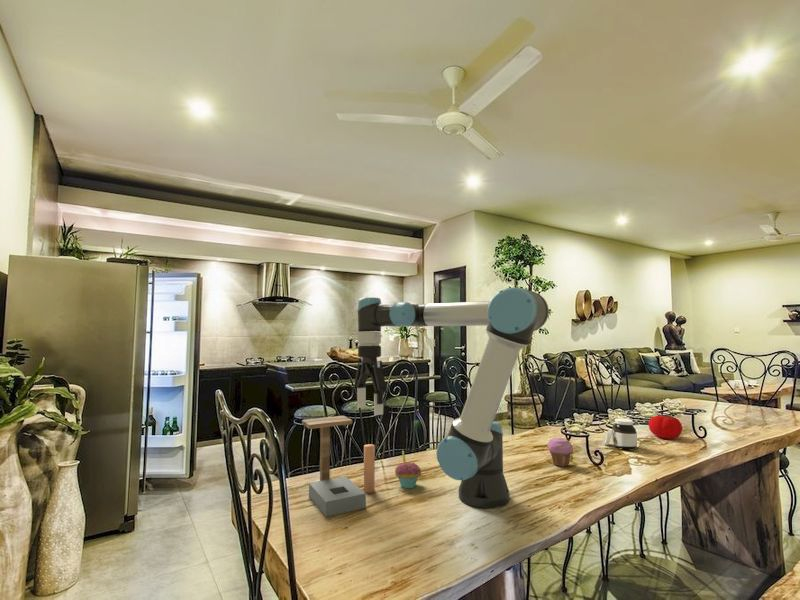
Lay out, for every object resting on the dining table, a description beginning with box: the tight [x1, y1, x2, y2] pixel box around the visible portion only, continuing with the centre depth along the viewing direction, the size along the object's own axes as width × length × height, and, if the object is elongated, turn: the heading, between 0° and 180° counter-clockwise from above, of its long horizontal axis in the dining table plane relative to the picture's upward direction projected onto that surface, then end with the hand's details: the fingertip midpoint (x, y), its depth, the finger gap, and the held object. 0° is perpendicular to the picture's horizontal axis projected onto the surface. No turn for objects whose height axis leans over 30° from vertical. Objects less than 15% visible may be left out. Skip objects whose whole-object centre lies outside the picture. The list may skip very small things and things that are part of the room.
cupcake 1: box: [394, 448, 422, 489], centre depth 137 cm, size 9×8×12 cm
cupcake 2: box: [547, 437, 574, 468], centre depth 156 cm, size 9×9×10 cm
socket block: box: [308, 475, 367, 518], centre depth 124 cm, size 16×12×4 cm
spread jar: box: [603, 418, 638, 450], centre depth 180 cm, size 12×11×12 cm
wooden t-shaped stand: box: [301, 415, 353, 481], centre depth 132 cm, size 8×14×22 cm, turn 118°
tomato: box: [648, 414, 683, 440], centre depth 194 cm, size 13×12×11 cm
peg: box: [363, 443, 376, 494], centre depth 132 cm, size 3×3×14 cm
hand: (369, 411), depth 135 cm, fingers open, 13 cm apart
